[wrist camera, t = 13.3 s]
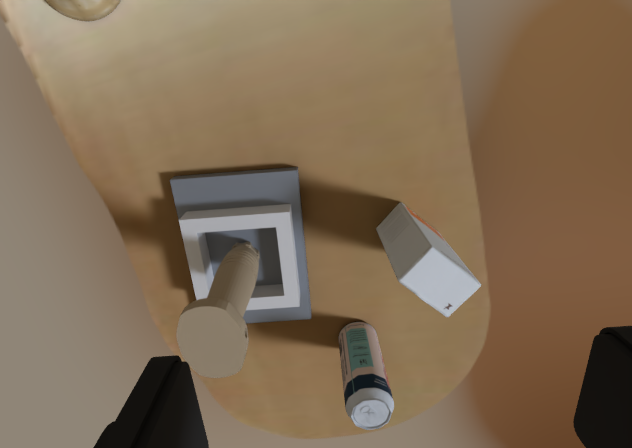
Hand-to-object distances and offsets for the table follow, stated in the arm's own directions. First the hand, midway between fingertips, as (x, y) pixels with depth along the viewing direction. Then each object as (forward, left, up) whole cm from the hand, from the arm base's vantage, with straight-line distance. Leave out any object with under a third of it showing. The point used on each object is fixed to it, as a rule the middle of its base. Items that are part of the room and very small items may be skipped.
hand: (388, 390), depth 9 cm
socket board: (+11, -10, -32) cm, 35 cm away
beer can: (+24, +2, -32) cm, 40 cm away
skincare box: (+10, +8, -32) cm, 35 cm away
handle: (+11, -10, -31) cm, 34 cm away
